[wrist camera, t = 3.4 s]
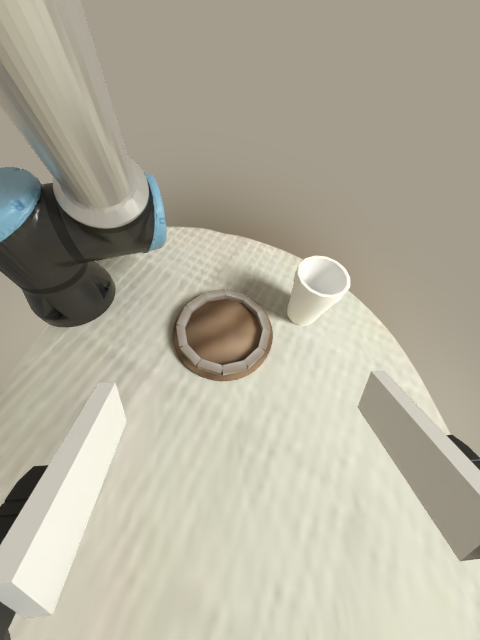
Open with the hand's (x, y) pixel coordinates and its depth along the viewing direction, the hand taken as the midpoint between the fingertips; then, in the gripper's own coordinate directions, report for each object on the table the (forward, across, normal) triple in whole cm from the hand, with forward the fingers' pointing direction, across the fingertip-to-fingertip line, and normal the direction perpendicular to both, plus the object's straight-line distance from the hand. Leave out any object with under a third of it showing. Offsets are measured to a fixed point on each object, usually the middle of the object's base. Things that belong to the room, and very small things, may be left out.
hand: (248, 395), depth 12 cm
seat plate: (+32, 0, -16) cm, 36 cm away
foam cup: (+36, +17, -14) cm, 43 cm away
